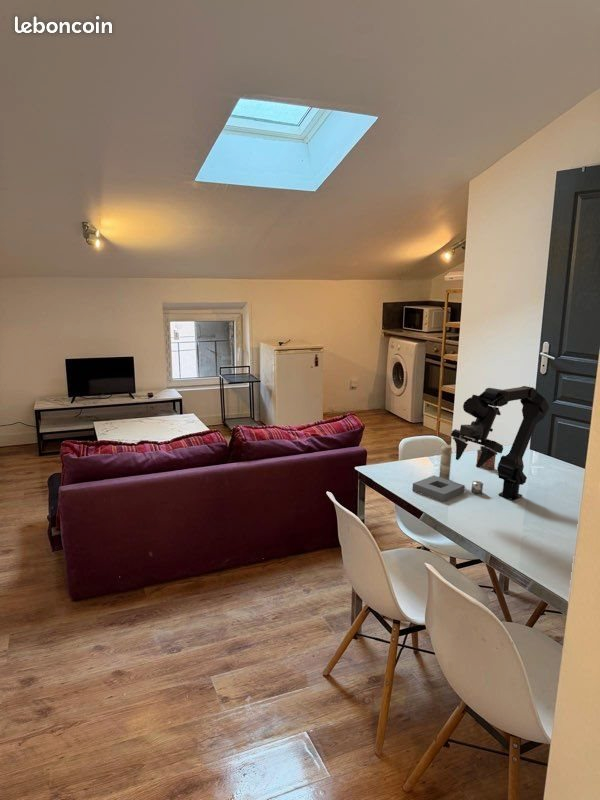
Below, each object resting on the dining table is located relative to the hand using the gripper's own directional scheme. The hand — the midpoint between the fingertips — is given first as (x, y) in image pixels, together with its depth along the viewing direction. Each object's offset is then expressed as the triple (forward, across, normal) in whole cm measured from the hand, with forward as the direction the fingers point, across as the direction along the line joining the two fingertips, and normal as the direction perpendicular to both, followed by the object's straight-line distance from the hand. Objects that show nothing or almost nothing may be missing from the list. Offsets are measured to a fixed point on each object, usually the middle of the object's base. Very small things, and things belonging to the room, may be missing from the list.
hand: (467, 463), depth 183 cm
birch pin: (+8, -25, +23) cm, 35 cm away
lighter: (-4, -26, +47) cm, 54 cm away
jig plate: (+13, -17, +12) cm, 25 cm away
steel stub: (+8, -9, +23) cm, 26 cm away
